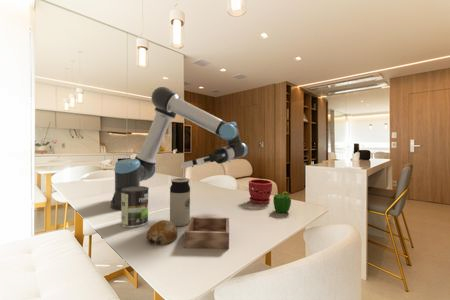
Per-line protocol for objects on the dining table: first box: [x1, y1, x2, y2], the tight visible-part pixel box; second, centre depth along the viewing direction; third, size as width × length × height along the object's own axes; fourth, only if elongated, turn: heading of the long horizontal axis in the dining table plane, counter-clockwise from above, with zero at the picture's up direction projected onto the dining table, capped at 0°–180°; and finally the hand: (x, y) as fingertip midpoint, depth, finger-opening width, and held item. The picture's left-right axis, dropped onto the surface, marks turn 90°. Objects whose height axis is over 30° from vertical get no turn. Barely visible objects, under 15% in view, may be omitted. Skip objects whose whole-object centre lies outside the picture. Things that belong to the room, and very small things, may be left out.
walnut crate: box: [183, 216, 230, 250], centre depth 76 cm, size 14×14×5 cm
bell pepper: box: [272, 191, 292, 214], centre depth 107 cm, size 8×8×10 cm
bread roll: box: [146, 219, 178, 246], centre depth 75 cm, size 10×10×8 cm
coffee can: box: [120, 185, 149, 229], centre depth 89 cm, size 10×10×14 cm
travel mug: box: [169, 177, 191, 227], centre depth 90 cm, size 8×8×18 cm
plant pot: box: [248, 178, 273, 205], centre depth 124 cm, size 13×13×12 cm
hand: (188, 164), depth 97 cm, fingers open, 13 cm apart
